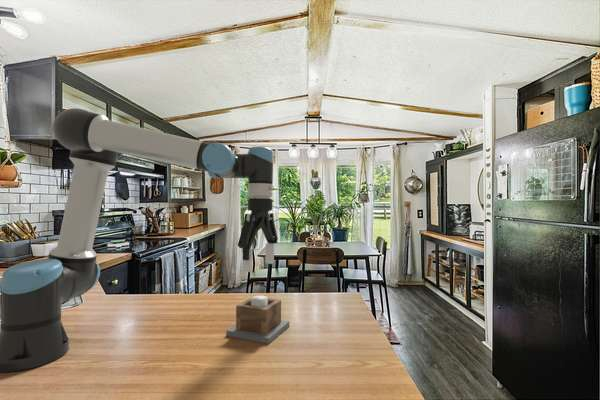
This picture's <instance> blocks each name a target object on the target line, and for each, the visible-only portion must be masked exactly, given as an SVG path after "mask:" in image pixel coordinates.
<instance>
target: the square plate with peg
mask: <svg viewBox="0 0 600 400" xmlns="http://www.w3.org/2000/svg"><path fill="white" fill-rule="evenodd" d="M250 298H251V306H256V307H262V308H264V307H266V306H267V305H268V299H269V298H268V296H266V295H253V296H252V297H250ZM289 327H290V321H289V320H284V319H283V320H282V319H281V323H280V324H279V325H277V326H276V327H275V328H274V329H272V330H271V331H270V332H268V333H267V334H266V335H265V334H260V333H254V332H249V331H243V330H238V329H236V324H235V325H233V326H232V327H230V328H229V329H226V332H225V333H226V336H227V337H232V338H237V339H241V340H245V341H251V342H252V341H253V342H256V343H257V342H258V343H261V344H266V345H269V344H270V343H272V342H273V341H274V340H275V339H277V337H278V336H280V335H281V334H282V333H283V332H285V330H287V329H288V328H289Z"/></svg>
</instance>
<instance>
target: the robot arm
mask: <svg viewBox="0 0 600 400" xmlns="http://www.w3.org/2000/svg"><path fill="white" fill-rule="evenodd" d="M52 133H53V135H54V138H55V139H56V140H57V141H58V143H59V144H60V145H61V146H63V147H64V148H65V149H67V150H70V153H69V156H68V157H69V158H68V159H69V160H70V161H71V163H72V164H73V170H72V174H71V175H72V176H71V180H70V184H69V187H68V188H69V189H68V194H67V197H66V198H67V199H66V203H65V208H64V212H63V218H62V223H61V226H60V227H61V228H60V231H59V235H58V236H59V237H58V241H57V245H56V246H55V247H53V248H52V249H51V250H49V252H48V256H47V258H41V259H33V260H30V261H22V262H20V263H16V264H14V265H12V266H9V267H7V268H6V269H5V270H4V271H3V273H2V276H1V283H0V373H9V372H10V373H13V372H19V371H26V370H29V369H33V368H36V367H40V366H43V365H47V364H49V363H52V362H54V361H56V360H58V359H60V358H62V357H63V356H65V354H67V353H68V351H69V349H70V340H69V338H68V337H69V336H68V334H67V332H66V329H65V327H64V325H63V322H62V304H63V303H66V302H68V301H70V300H72V299H74V298H79V297H81V296H82V295H84V294H86V293H87V292H89V291H90V290H92V289H93V288H94V287H95V285H96V284H97V283H98V281H99V278H100V276H101V267H100V265H99V264H98V261H97V257H98V254H97V253H96V251H95V250H94V249H93V247H94V242H95V237H96V232H97V228H98V223H99V218H100V214H101V213H100V212H101V209H102V203H103V197H104V193H105V190H106V189H105V188H106V184H107V179H108V175H109V172H110V171H111V170H113V169H116V163H117V160H118V159H119V158H121V157H122V156H123V154H124V155H128V156H134V157H138V158H142V159H143V158H144V159H148V160H152V161H158V162H162V163H167V164H170V165H171V164H172V165H176V166H182V167H186V168H190V169H195V170H200V171H204V172H207V173H208V176H209V177H210V178H215V179H221V180H222V179H247V180H248V181H247V183H248V184H247V197H249V198H248V199H247V210H248V211H251V212H250V213H245V214H244V218H243V219H244V221H243V225H242V229H241V232H240V235H239V239H238V242H237V246H238V248H239V249H241V250H242V272H248V273H252V272H253V248H252V245H253V243H254V241H255V238H256V236H257V233H258V232H259V231H260V230H261V231H262V232H263V235H264V237H265V239H266V243H265V261H264V263H265V264H269V265H273V264H274V263H275V244H277V243H278V240H279V238H278V233H277V229H276V224H275V220H274V213H273V212H272V213H271V211H273V198H272V197H273V190H274V187H273V182H274V181H273V180H274V179H273V178H274V177H273V176H274V156H273V155H274V153H273V150H272V149H271V148H269V147H266V146H251V147H249V149H248V152H247V153H235V152H233V150H232V149H231V147H229V146H228V145H226V144H224V143H221V142H213V143H212V142H206V141H202V140H198V139H193V138H189V137H184V136H179V135H175V134H172V133H166V132H162V131H158V130H153V129H148V128H144V127H140V126H135V125H131V124H127V123H123V122H122V123H121V122H118V121H117V122H116V121H113V120H110V119H109V117H107V116H106V115H104V114H98V113H95V112H91V111H88V110H86V109H83V108H78V107H77V108H68V109H65V110H63V111H61V112H60V113H59V114H57V116H56V117H55V118H54V121H53V125H52Z"/></svg>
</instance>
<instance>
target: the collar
mask: <svg viewBox="0 0 600 400" xmlns="http://www.w3.org/2000/svg"><path fill="white" fill-rule="evenodd" d="M251 298H252V297H250V298H248V299H246V300H244V301H242V302H240V303H238V304H236V307H235V308H236V309H235V311H236V312H235V325H236V329H238V330H243V331H249V332H254V333H260V334H265V335H266V334H267V333H268V332H270V331H271V330H272V329H274V328H275V327H276V326H277V325H279V324H280V323H281V320H282V299H273V298H268V305H267V306H266V307H264V308H262V307H256V306H251Z"/></svg>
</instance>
